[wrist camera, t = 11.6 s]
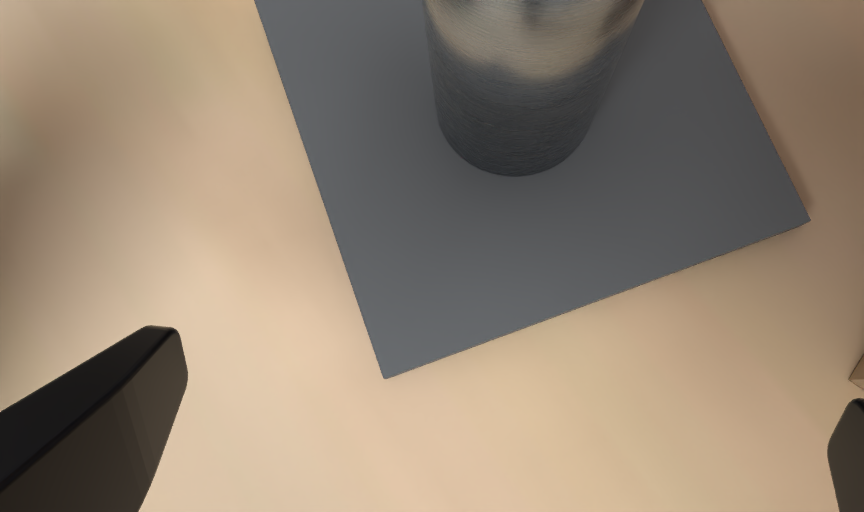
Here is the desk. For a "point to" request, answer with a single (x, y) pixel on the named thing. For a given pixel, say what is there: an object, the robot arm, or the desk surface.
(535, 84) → the amber topped metal pillar
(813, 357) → the desk surface
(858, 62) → the desk surface
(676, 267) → the mat
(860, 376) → the brown square frame
